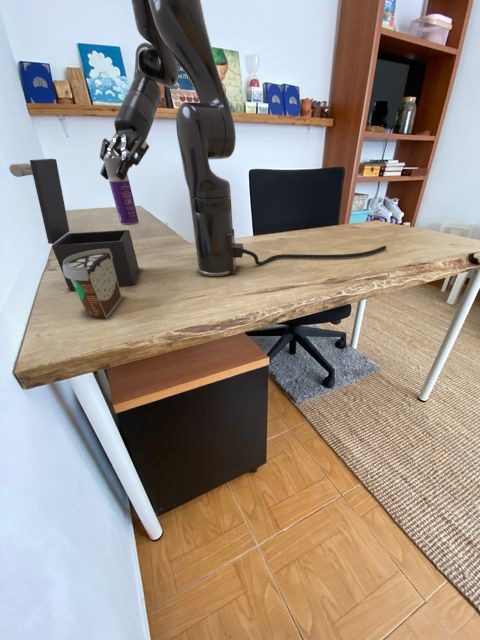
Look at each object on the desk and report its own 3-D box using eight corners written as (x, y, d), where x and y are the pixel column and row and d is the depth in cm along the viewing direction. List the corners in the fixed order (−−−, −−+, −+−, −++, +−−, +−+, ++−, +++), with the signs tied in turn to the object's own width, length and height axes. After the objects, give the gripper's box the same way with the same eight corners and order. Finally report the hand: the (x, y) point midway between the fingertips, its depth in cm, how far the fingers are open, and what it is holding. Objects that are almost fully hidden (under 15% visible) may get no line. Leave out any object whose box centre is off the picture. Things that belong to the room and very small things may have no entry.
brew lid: (56, 159, 61) (25, 154, 60) (34, 160, 52) (-3, 155, 50) (69, 231, 69) (42, 228, 67) (52, 244, 60) (21, 241, 58)
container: (133, 225, 78) (115, 158, 69) (117, 225, 78) (98, 158, 70) (142, 222, 81) (127, 157, 73) (127, 221, 82) (110, 157, 74)
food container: (94, 296, 63) (77, 248, 57) (124, 294, 63) (110, 247, 58) (68, 324, 53) (44, 269, 47) (103, 322, 53) (84, 268, 47)
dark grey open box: (139, 268, 77) (129, 229, 72) (134, 285, 68) (122, 241, 62) (83, 273, 74) (68, 233, 69) (69, 291, 65) (51, 246, 60)
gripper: (103, 106, 74) (78, 165, 71) (147, 101, 68) (121, 165, 66) (126, 133, 81) (103, 187, 78) (166, 130, 75) (144, 189, 73)
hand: (111, 176), depth 72 cm, fingers closed on container, 4 cm apart
